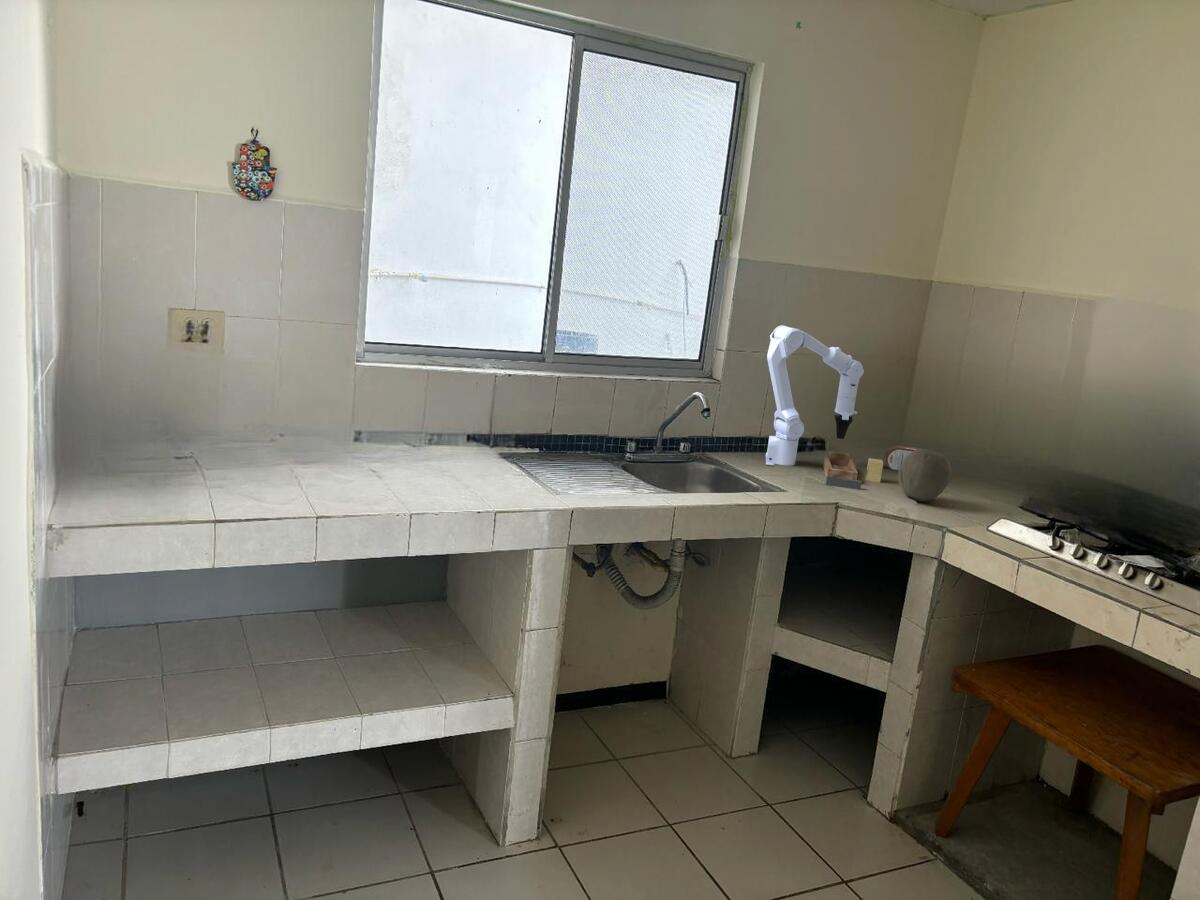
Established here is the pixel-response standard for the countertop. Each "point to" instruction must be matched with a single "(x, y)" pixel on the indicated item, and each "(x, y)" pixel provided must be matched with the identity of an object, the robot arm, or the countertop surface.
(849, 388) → the robot arm
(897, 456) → the tin
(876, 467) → the block
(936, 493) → the cantaloupe
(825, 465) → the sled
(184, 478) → the countertop surface
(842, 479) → the track
